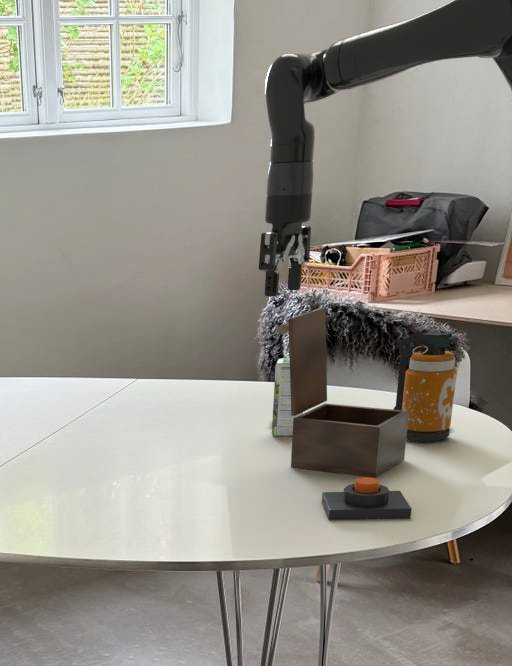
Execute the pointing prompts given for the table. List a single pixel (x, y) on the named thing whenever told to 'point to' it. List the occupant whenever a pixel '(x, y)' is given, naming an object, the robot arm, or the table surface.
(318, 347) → the brown box lid
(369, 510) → the control block
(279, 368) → the syrup box
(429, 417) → the canister
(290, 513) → the table surface
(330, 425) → the brown wooden box
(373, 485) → the button
